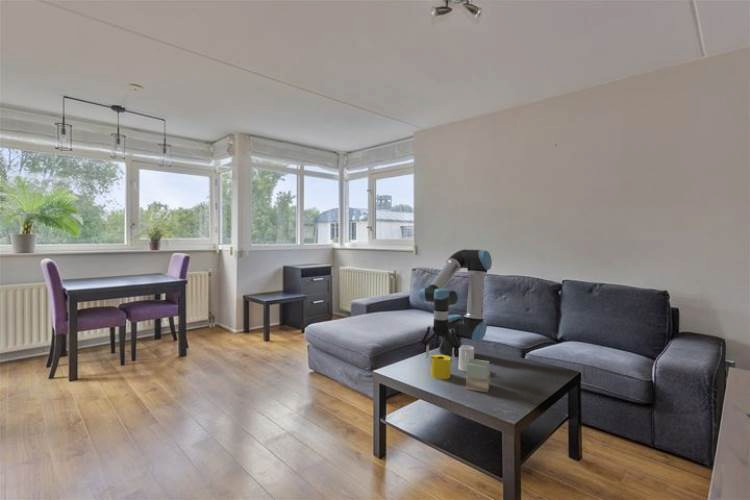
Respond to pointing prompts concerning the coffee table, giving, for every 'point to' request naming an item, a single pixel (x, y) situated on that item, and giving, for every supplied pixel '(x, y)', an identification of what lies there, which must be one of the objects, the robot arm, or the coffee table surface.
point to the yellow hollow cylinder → (440, 366)
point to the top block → (478, 369)
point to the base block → (478, 384)
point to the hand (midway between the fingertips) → (440, 359)
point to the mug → (465, 356)
